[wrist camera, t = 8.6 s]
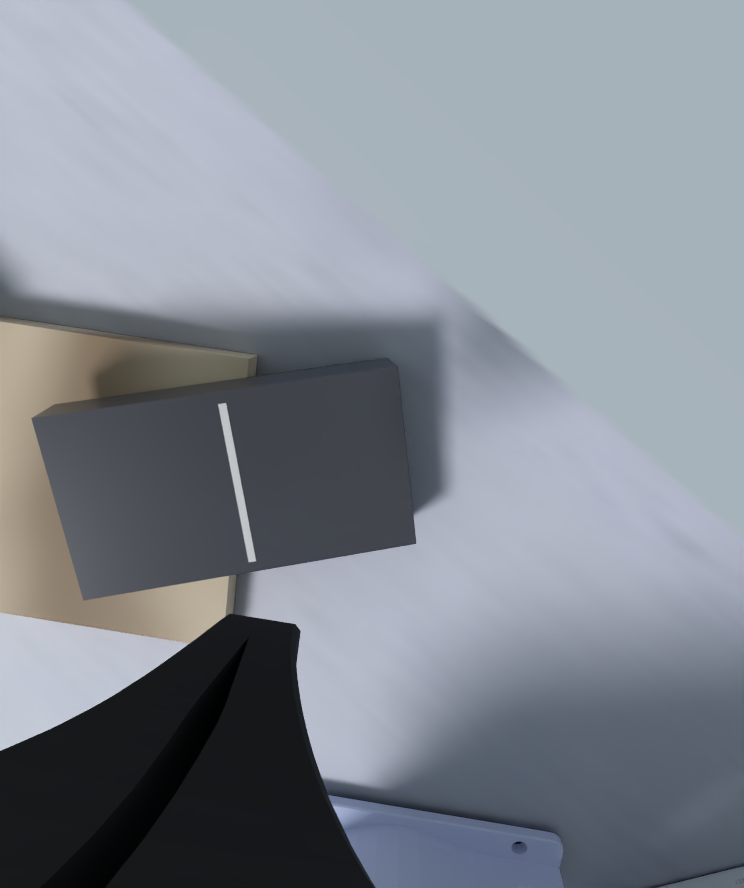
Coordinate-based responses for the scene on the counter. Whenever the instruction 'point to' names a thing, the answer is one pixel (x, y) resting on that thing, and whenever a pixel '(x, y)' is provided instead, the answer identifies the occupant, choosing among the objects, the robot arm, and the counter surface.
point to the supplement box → (714, 880)
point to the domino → (229, 476)
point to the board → (28, 488)
